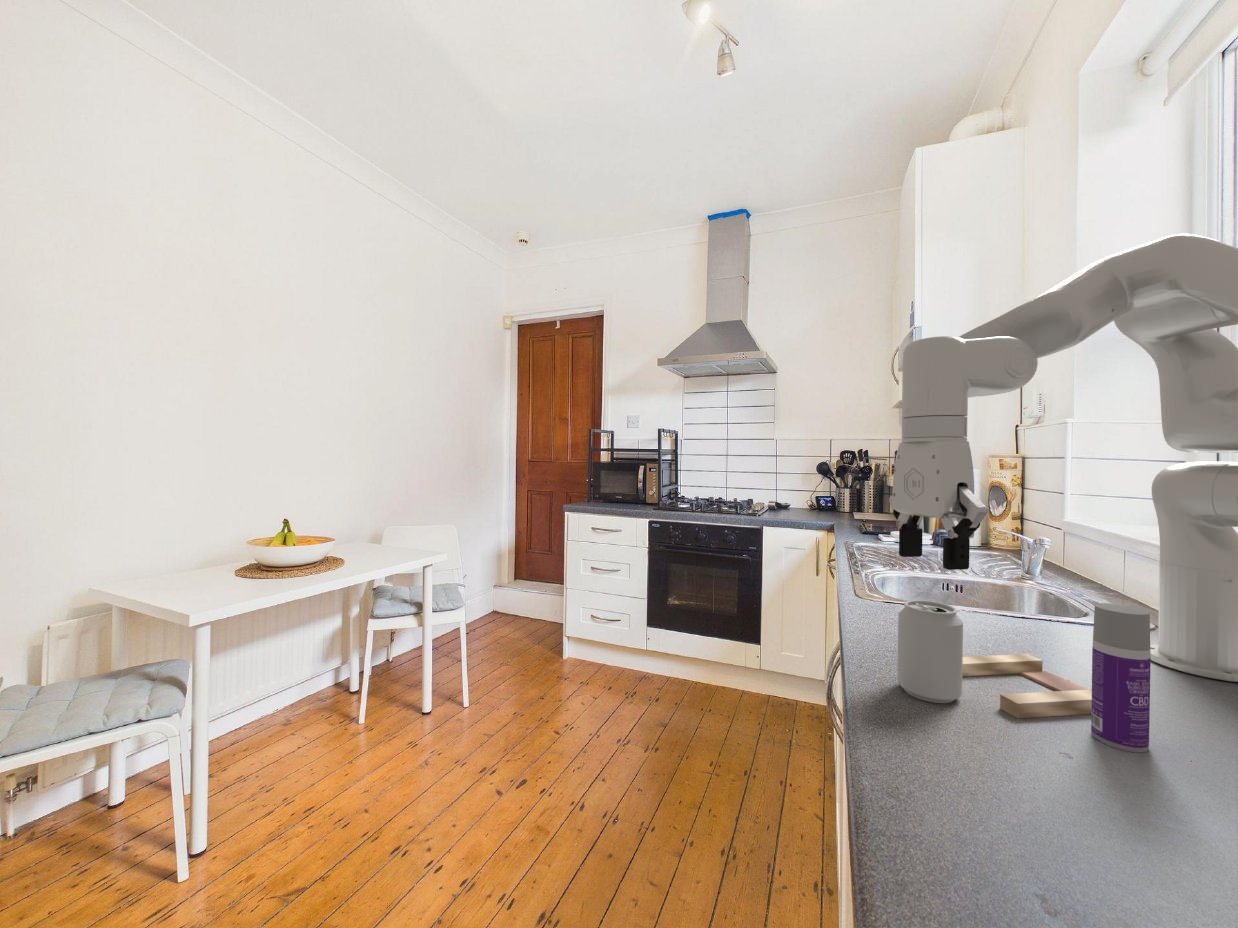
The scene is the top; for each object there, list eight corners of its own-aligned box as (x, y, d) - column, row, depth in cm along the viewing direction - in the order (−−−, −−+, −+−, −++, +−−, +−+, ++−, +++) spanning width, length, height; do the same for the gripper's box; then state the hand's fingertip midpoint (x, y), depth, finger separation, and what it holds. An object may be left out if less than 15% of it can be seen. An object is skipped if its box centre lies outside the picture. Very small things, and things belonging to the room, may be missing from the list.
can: (971, 709, 65) (972, 615, 65) (905, 701, 67) (907, 610, 67) (950, 684, 72) (951, 599, 72) (891, 678, 74) (892, 595, 74)
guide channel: (1027, 665, 79) (1027, 653, 79) (1131, 711, 65) (1131, 697, 65) (931, 669, 77) (932, 658, 77) (1017, 718, 63) (1017, 703, 63)
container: (1138, 757, 55) (1141, 617, 54) (1083, 735, 59) (1085, 605, 59) (1156, 745, 57) (1158, 611, 57) (1101, 726, 61) (1103, 600, 61)
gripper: (868, 434, 77) (866, 551, 77) (958, 427, 60) (956, 577, 60) (914, 435, 78) (912, 550, 78) (1016, 428, 61) (1014, 576, 61)
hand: (931, 561), depth 69 cm, fingers open, 7 cm apart
